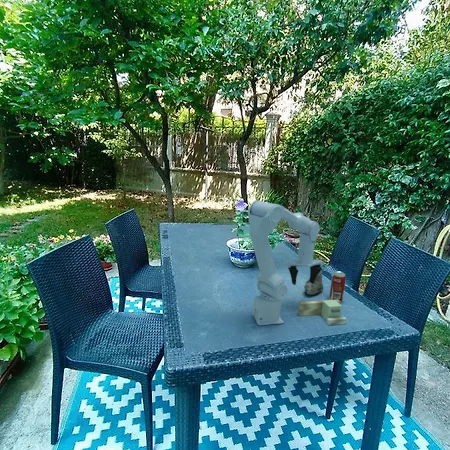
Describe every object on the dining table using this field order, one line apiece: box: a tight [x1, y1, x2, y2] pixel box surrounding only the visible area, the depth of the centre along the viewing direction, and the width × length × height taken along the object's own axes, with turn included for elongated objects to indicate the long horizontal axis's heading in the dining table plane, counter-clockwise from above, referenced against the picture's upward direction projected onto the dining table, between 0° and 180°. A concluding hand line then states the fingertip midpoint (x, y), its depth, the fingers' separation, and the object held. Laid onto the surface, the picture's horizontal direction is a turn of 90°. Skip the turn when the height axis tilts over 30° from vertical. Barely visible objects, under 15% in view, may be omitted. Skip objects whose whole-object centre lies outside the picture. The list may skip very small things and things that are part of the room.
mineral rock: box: [303, 269, 324, 296], centre depth 130 cm, size 13×11×10 cm
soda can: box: [329, 270, 347, 303], centre depth 122 cm, size 5×5×12 cm
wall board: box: [297, 299, 347, 326], centre depth 108 cm, size 16×9×5 cm, turn 101°
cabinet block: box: [320, 299, 343, 322], centre depth 108 cm, size 5×5×6 cm
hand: (302, 283), depth 116 cm, fingers open, 7 cm apart
